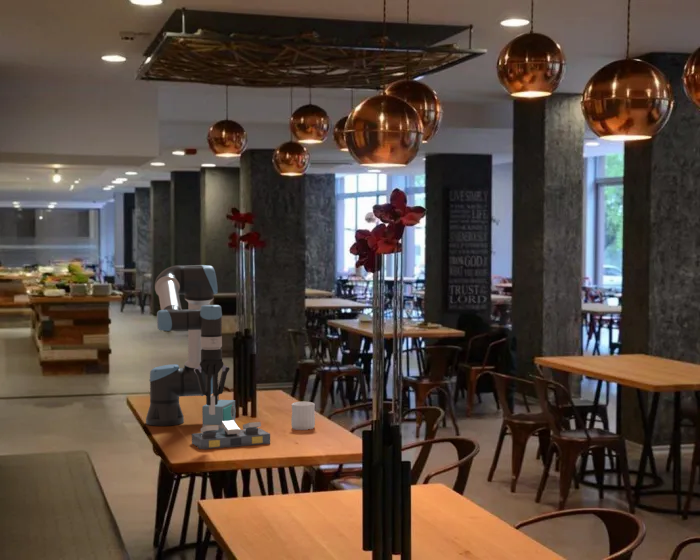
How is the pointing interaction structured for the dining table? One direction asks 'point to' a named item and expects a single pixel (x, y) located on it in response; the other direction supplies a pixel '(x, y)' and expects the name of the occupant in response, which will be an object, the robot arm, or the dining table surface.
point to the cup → (303, 415)
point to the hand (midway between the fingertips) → (212, 414)
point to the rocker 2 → (230, 427)
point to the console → (230, 438)
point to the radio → (219, 413)
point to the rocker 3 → (251, 425)
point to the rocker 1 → (209, 428)
